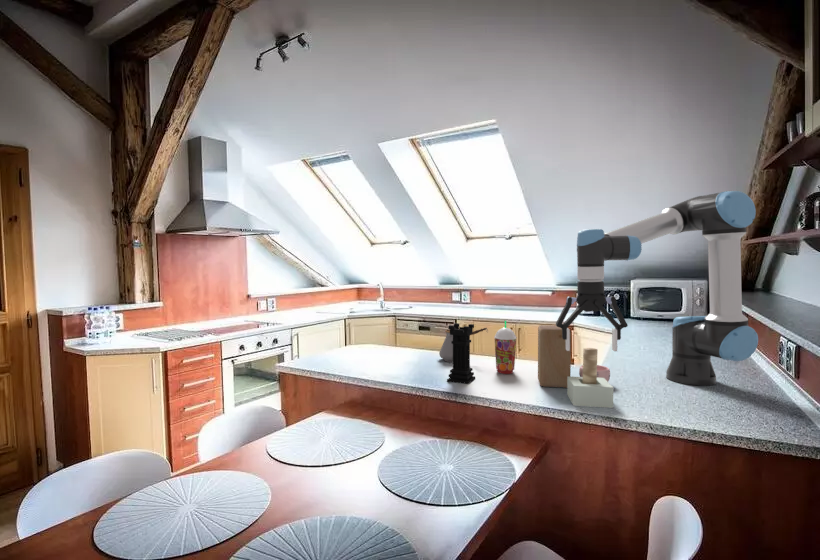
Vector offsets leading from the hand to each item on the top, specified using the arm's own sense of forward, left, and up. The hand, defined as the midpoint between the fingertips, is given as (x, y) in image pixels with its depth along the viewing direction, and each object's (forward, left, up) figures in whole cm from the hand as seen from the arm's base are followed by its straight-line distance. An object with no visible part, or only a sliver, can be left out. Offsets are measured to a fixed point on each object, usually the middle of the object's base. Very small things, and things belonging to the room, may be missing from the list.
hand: (591, 350), depth 137 cm
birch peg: (0, 0, -15) cm, 15 cm away
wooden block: (+8, -18, -16) cm, 25 cm away
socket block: (0, 0, -16) cm, 16 cm away
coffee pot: (+41, -49, -16) cm, 66 cm away
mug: (-6, -21, -16) cm, 27 cm away
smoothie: (+24, -32, -16) cm, 43 cm away
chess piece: (+40, -18, -16) cm, 47 cm away
